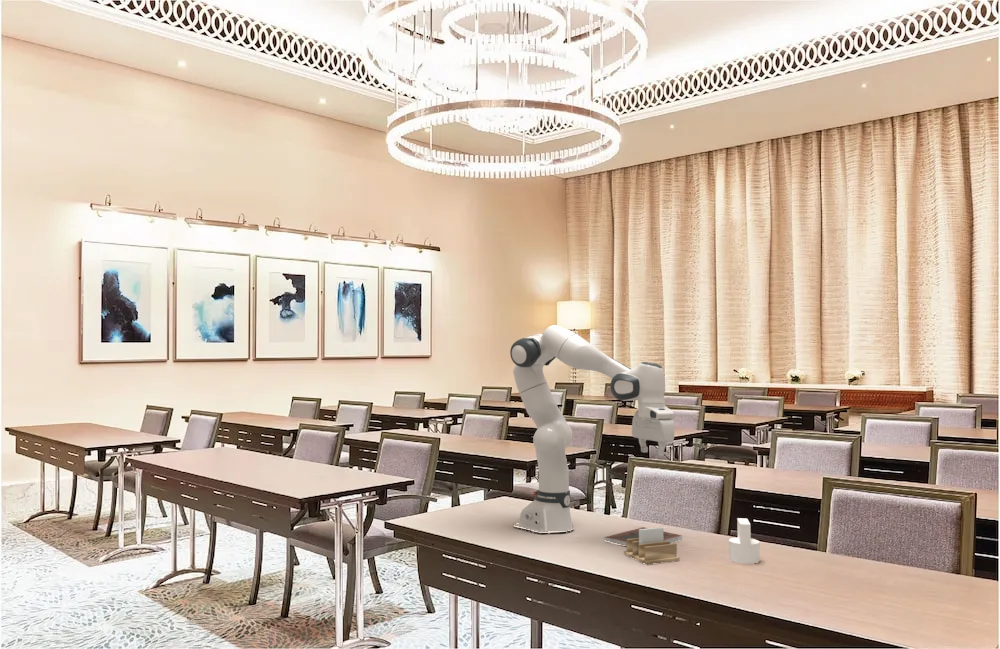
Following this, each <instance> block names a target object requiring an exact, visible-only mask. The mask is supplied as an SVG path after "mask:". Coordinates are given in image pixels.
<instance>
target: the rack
mask: <svg viewBox="0 0 1000 649" xmlns="http://www.w3.org/2000/svg"><path fill="white" fill-rule="evenodd" d="M677 547H678V546H677V543H670V541H664V539H663V542H654V543H645V544H639V538H633V539H627V547H626V551H623V555H624V554H626V555H628V556H630V557H632V558H634V559H633V560H635V559H636V560H635V561H637V560H638V561H637V562H639V561H640V562H639V563H641V562H642V563H641V564H643V563H645V564H650V565H654V564H653V563H659V564H662V563H661V562H667V563H673V562H672V561H675V562H680V561H681V560H680V557H679V556H678V553H677ZM626 555H625V556H626ZM628 556H627V557H628ZM630 557H629V558H630ZM632 558H631V559H632ZM645 564H644V565H645Z"/></svg>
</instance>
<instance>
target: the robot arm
mask: <svg viewBox="0 0 1000 649" xmlns="http://www.w3.org/2000/svg"><path fill="white" fill-rule="evenodd" d="M509 354H510V359H511V361H512V362H513V363H514V364H515V366H514V368H513V372H512V373H513V376H514V381H515V384H516V389H517V391H518V393H519V395H520V396H519V397H520V398H521V401H522V404H523V406H524V408H525V410H526V413H527V415H528V416H529V417H530V418H531V419H532V421H533V422H534V424H535V426H536V428H537V429H536V431H535V433H534V435H533V439H532V442H533V445H534V448H535V456H536V461H537V467H538V489H537V490H535V491H533V492H532V496H535V497H534V500H533V501H531V502H530V503H529V504H528V505H526V506H525V507H524V508H522V509H521V511H520V514H519V515H520V516H519V521H516V522H515V523H519V524H515V523H514V524H513V526H514V525H515V526H519V527H523V528H526V529H530V530H534V531H538V532H548V531H568V530H571V529H573V528H574V525H573V522H572V515H571V509H570V506H571V490H570V469H569V466H568V461H567V456H566V448H567V447H568V446H570V444H571V443H572V440H573V430H572V428H571V427H570V425H569V424H568V421H567V420H566V418H565V416H564V415H563V413H562V412H561V409H560V408H559V406H558V404H557V402H556V401H555V399H554V395H553V394H552V392H551V389H550V387H549V384H548V382H547V379H546V377H545V375H544V372H543V371H544V366H549V365H550V364H551V363H552V362H553V361H554V360H555V359H557V360H559V361H560V362H562V363H564V364H565V365H566V366H569V367H571V368H573V369H576V370H582V371H583V370H584V371H593V372H597V373H600V374H603V375H605V376H607V377H608V378H610V379H611V382H610V387H609V388H610V393H611V395H613V396H612V397H614V398H615V399H617V400H619V401H623V402H625V401H626V402H628V401H629V402H630V401H637V404H638V405H637V410H636V411H635V412H634V415H633V417H632V421H631V422H632V424H631V435H632V437H633V438H636V439H638V443H639V446H640V452H641V453H649V452H648V451H649V447H648V446H647V443H646V442H647V441H653V442H657V446H658V448H657V450H656V456H659V457H663V456H664V455H665V449H666V447H667V444H669V443H670V444H671V443H673V442H674V439H675V421H674V420H673V419H675V412H674V411H673V410H672V409H670V408H669V407H668V406H666V399H665V391H666V380H665V379H666V378H665V371H664V369H663V366H662V365H660V364H658V363H655V362H648V361H641V362H640V363H638V365H636V366H634V367H633V368H630V367H628V366H626V365H625V364H623V363H621V362H620V361H618V360H616V359H614V358H613V357H611V356H609V355H607V354H606V353H604V352H603V351H601V349H599V348H597V347H595V346H594V345H593V344H591V343H590V342H589V341H587V339H585V338H583V337H582V336H580V335H579V334H577V333H576V332H575V331H572V330H570V329H568V328H566V327H564V326H561V325H557V324H552V325H550V326H548V327H547V328H545V329H544V331H543V333H535V334H532V335H530V336H526V337H523V338H520V339H517V340H516V341H515V342H514V343H513V344H512V345H511V347H510V352H509Z"/></svg>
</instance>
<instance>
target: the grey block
mask: <svg viewBox="0 0 1000 649" xmlns="http://www.w3.org/2000/svg"><path fill="white" fill-rule="evenodd" d="M645 528H646V529H639V544H645V543H654V542H663V531H664V527H661V526H658V527H649V528H648V527H645Z"/></svg>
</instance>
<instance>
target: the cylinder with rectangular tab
mask: <svg viewBox="0 0 1000 649" xmlns="http://www.w3.org/2000/svg"><path fill="white" fill-rule="evenodd" d="M736 520H737V524H736V525H737V526H736V527H737V528H736V530H737V531H736V532H737V537H731V538H729V540H728V560H729V559H730V560H731V561H730V560H729V561H730V562H732V561H734V562H737V563H736V564H738V563H744V564H743V565H753V564H752V563H757V564H759V563H760V562H759V561H760V558H761V557H760V554H761V553H760V540H757V539H755V538H752V537H751V535H752V534H751V533H752V532H751V530H752V529H751V523H750V521H749V519H748V518H741V517H740V518H739V517H737V518H736ZM734 562H733V563H734ZM758 562H759V563H758Z"/></svg>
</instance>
